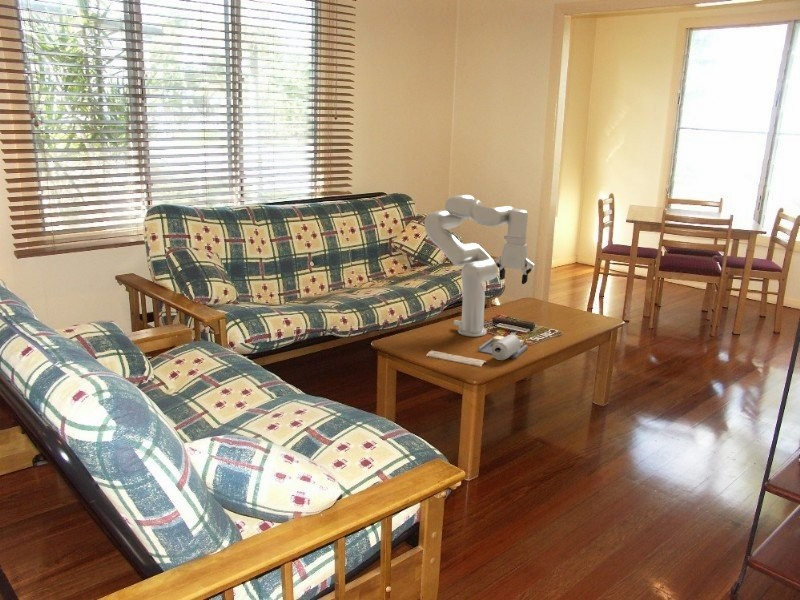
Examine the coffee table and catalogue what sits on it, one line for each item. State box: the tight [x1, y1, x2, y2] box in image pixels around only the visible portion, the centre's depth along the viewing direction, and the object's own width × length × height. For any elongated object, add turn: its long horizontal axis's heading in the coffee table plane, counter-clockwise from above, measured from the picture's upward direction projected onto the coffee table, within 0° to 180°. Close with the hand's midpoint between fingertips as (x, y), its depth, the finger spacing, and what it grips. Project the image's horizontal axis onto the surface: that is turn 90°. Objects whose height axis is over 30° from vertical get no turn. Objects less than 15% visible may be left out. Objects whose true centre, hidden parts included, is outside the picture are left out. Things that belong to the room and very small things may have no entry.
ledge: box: [492, 335, 524, 349], centre depth 294 cm, size 12×4×3 cm, turn 61°
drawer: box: [477, 337, 529, 359], centre depth 290 cm, size 16×14×2 cm
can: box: [491, 334, 521, 361], centre depth 281 cm, size 8×8×12 cm
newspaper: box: [426, 350, 488, 368], centre depth 280 cm, size 24×7×2 cm, turn 61°
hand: (512, 281), depth 290 cm, fingers open, 9 cm apart
